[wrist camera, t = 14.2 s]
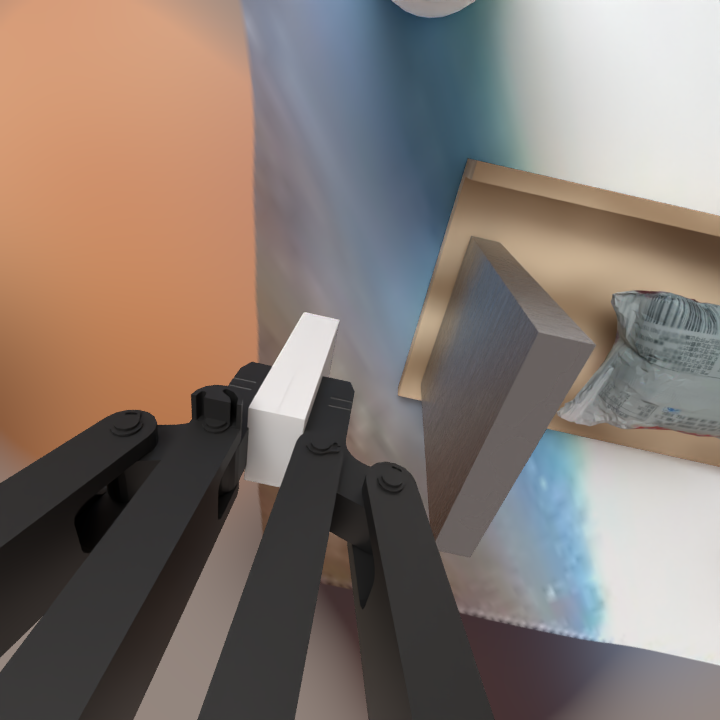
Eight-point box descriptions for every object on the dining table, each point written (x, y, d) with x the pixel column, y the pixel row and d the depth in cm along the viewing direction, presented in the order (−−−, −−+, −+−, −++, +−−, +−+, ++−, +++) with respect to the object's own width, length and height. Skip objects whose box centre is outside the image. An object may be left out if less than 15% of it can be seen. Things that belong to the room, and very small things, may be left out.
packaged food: (724, 425, 25) (793, 483, 21) (545, 399, 25) (576, 450, 21) (819, 301, 21) (931, 341, 16) (603, 270, 21) (658, 301, 16)
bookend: (471, 235, 21) (538, 332, 10) (499, 242, 21) (596, 345, 10) (420, 384, 26) (431, 549, 15) (443, 389, 26) (469, 557, 15)
